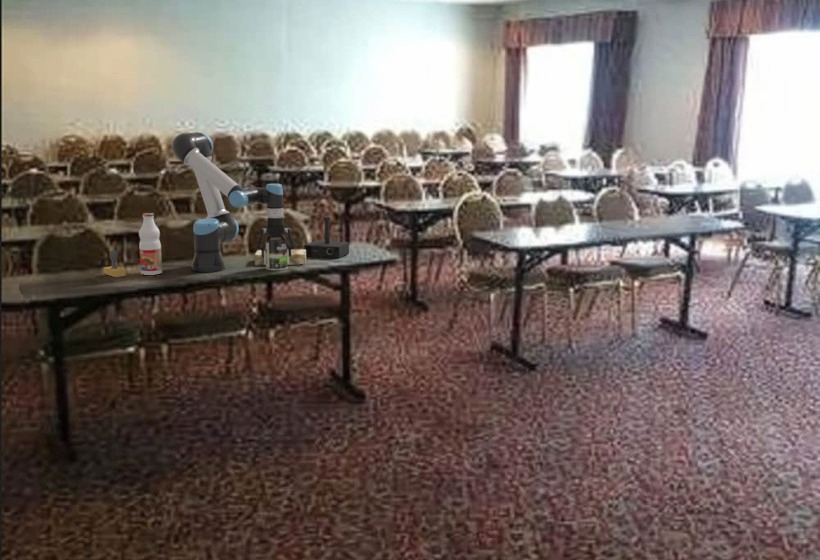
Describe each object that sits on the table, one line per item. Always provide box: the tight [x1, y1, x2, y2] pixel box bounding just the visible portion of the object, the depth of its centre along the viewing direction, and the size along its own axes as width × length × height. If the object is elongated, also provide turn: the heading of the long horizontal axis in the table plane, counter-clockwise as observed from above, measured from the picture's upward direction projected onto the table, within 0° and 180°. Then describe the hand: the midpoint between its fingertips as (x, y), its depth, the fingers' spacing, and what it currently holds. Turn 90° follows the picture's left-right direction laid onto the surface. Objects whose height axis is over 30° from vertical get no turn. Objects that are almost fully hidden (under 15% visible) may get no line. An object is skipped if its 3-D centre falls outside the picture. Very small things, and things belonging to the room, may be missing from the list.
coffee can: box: [264, 237, 289, 271], centre depth 412 cm, size 10×10×14 cm
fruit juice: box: [138, 212, 163, 275], centre depth 397 cm, size 9×9×28 cm
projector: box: [303, 216, 350, 259], centre depth 446 cm, size 19×17×20 cm
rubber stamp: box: [103, 249, 127, 276], centre depth 395 cm, size 10×6×12 cm, turn 46°
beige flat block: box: [254, 248, 307, 266], centre depth 429 cm, size 24×14×5 cm, turn 95°
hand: (276, 263), depth 413 cm, fingers closed on coffee can, 10 cm apart
